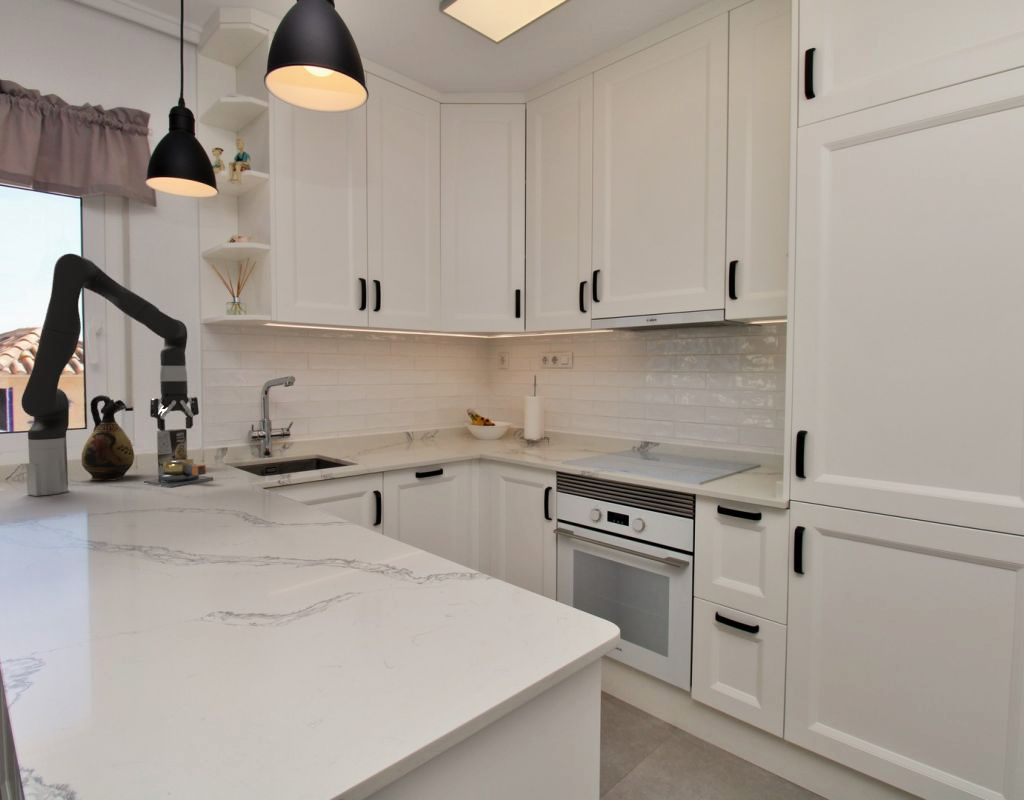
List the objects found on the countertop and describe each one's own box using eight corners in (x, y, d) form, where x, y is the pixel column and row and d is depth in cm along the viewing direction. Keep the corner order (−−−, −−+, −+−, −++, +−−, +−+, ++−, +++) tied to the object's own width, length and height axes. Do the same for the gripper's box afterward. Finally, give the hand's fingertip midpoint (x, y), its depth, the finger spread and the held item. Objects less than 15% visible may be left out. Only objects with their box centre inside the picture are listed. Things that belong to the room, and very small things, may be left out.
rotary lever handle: (156, 473, 192) (156, 461, 192) (184, 469, 200) (183, 458, 200) (187, 477, 184) (187, 465, 184) (215, 473, 192) (214, 461, 192)
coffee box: (174, 473, 212) (172, 430, 211) (157, 473, 212) (155, 431, 211) (188, 469, 221) (187, 428, 220) (172, 469, 221) (171, 428, 220)
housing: (169, 487, 184) (169, 465, 184) (143, 483, 191) (142, 462, 191) (213, 480, 197) (212, 459, 197) (187, 476, 204) (186, 456, 204)
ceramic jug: (145, 475, 208) (142, 394, 207) (111, 483, 193) (108, 395, 192) (103, 474, 210) (100, 394, 209) (66, 482, 195) (63, 396, 194)
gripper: (157, 380, 175) (159, 431, 176) (202, 379, 188) (203, 428, 188) (144, 380, 179) (146, 431, 180) (189, 379, 192) (190, 427, 192)
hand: (175, 429), depth 184 cm, fingers open, 8 cm apart
